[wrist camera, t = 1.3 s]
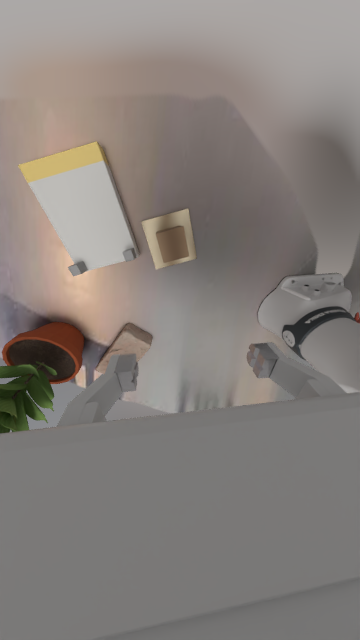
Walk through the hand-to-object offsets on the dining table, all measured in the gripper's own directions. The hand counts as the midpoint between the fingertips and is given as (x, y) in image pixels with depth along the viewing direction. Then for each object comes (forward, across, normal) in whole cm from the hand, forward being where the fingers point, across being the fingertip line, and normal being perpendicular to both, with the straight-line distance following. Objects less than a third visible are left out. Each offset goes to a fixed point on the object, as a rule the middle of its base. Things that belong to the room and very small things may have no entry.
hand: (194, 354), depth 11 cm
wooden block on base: (+29, 0, -5) cm, 29 cm away
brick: (+29, +14, +23) cm, 40 cm away
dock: (+28, +14, -9) cm, 33 cm away
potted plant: (+29, +29, +18) cm, 45 cm away
